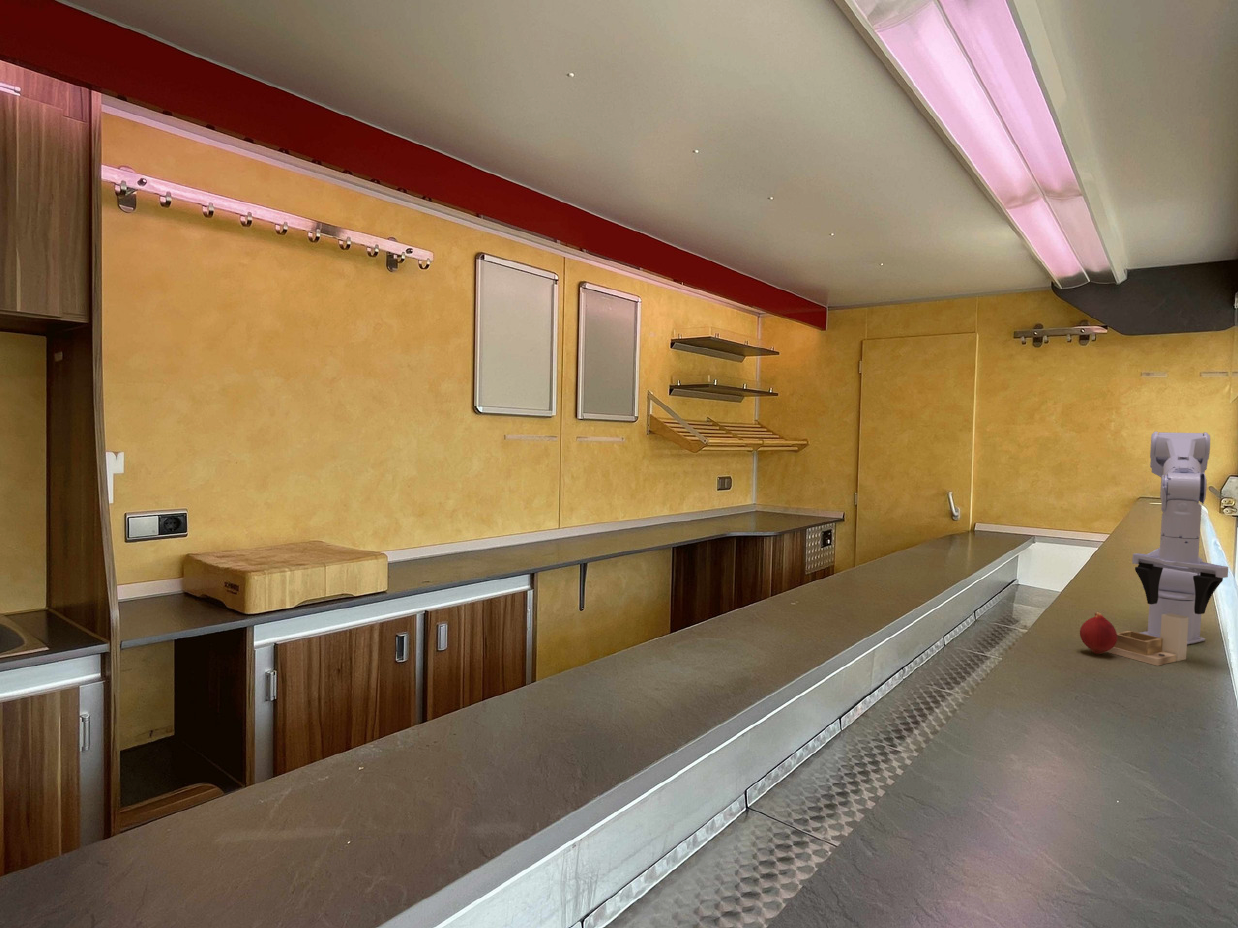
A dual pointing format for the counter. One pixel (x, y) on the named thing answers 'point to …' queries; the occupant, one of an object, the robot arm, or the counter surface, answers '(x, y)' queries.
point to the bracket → (1141, 648)
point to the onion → (1098, 634)
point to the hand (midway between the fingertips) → (1175, 608)
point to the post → (1174, 634)
